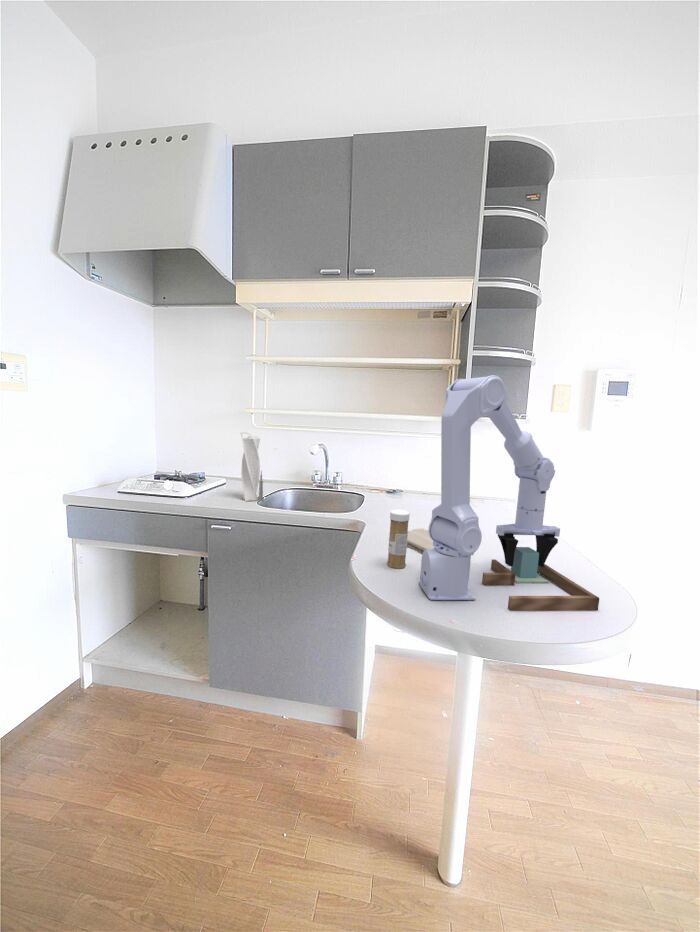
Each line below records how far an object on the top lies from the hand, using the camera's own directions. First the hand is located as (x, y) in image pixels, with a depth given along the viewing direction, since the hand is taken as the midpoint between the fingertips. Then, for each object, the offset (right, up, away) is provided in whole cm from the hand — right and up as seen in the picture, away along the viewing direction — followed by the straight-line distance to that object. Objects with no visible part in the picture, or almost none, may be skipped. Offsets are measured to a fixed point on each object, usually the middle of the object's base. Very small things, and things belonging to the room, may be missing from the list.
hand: (524, 565), depth 88 cm
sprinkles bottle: (-30, -1, +3) cm, 30 cm away
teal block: (0, -2, 0) cm, 2 cm away
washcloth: (-20, 0, +20) cm, 28 cm away
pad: (0, -3, 0) cm, 3 cm away
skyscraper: (-82, +9, +67) cm, 106 cm away
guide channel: (-3, -3, -6) cm, 7 cm away
